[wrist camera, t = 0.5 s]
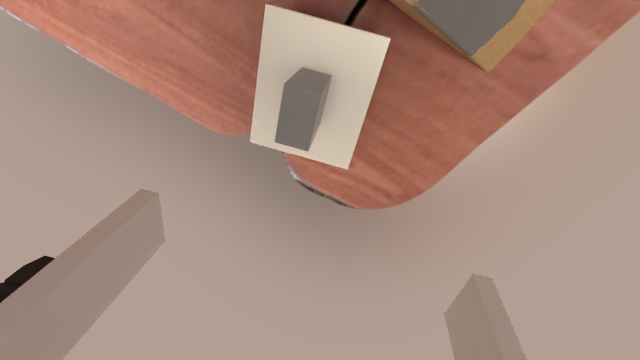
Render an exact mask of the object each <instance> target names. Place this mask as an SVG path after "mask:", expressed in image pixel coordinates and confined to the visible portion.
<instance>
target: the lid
mask: <svg viewBox="0 0 640 360" xmlns="http://www.w3.org/2000/svg"><path fill="white" fill-rule="evenodd" d="M390 39H391V38H390V37H388V36H384V35H381V34H377V33H373V32H370V31H366V30H363V29H359V28H355V27H352V26H348V25H344V24H341V23H337V22H334V21H330V20H326V19H323V18H319V17H315V16H312V15H308V14H305V13H301V12H297V11H294V10H290V9H287V8H283V7H279V6H276V5H272V4H265V13H264V22H263V30H262V39H261V48H260V57H259V66H258V75H257V84H256V92H255V101H254V110H253V119H252V128H251V137H250V142H251V143H255V144H258V145H262V146H265V147H269V148H273V149H277V150H280V151H283V152H287V153H290V154H294V155H298V156H301V157H305V158H308V159H312V160H315V161H319V162H323V163H326V164H330V165H333V166H337V167H340V168H344V169H348V167H349V164H350V161H351V158H352V155H353V152H354V149H355V146H356V143H357V140H358V137H359V134H360V131H361V128H362V124H363V121H364V118H365V115H366V112H367V109H368V106H369V103H370V100H371V97H372V94H373V91H374V88H375V85H376V82H377V79H378V76H379V73H380V70H381V67H382V64H383V61H384V58H385V55H386V51H387V48H388V45H389V42H390Z"/></svg>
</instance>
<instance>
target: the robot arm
mask: <svg viewBox="0 0 640 360" xmlns="http://www.w3.org/2000/svg"><path fill="white" fill-rule="evenodd" d="M164 242H165V238H164V230H163V223H162V215H161V208H160V201H159V194H158V193H155V192H151V191H147V190H143V189H140V190H139V191H138V192H136V193H135V194H134V195H133V196H132V197H130V198H129V199H128V200H127V201H125V202H124V203H123V204H122V205H121V206H119V207H118V208H117V209H116V210H114V211H113V212H112V213H111V214H109V215H108V216H107V217H106V218H105V219H103V220H102V221H101V222H100V223H98V224H97V225H96V226H95V227H93V228H92V229H91V230H90V231H88V232H87V233H86V234H85V235H83V236H82V237H81V238H80V239H79V240H77V241H76V242H75V243H74V244H72V245H71V246H70V247H69V248H67V249H66V250H65V251H64V252H63V253H61V254H60V255H59V256H58V257H56V258H52V257H48V256H43V257H41V258H39V259H37V260H35V261H33V262H31V263H29V264H26V265H24V266H23V267H21V268H20V269H19V270H17V271H16V272H15V273H13V274H12V275H11V276H10V277H9V278H7V279H6V280H5V282H4V283H0V360H63V358H64V357H65V356H66V354H68V353H69V351H70V350H71V349H72V348H73V347H74V346H75V344H76V343H77V342H78V341H79V340H80V339H81V338H82V336H83V335H84V334H85V333H86V331H88V329H89V328H90V327H91V326H92V325H93V324H94V323H95V321H96V320H97V319H98V318H99V317H100V316H101V314H102V313H103V312H104V311H105V310H106V309H107V308H108V306H109V305H110V304H111V303H112V302H113V301H114V299H115V298H116V297H117V296H118V294H120V292H121V291H122V290H123V289H124V288H125V287H126V286H127V284H128V283H129V282H130V281H131V280H132V279H133V277H134V276H135V275H136V274H137V273H138V272H139V270H140V269H141V268H142V267H143V266H144V265H145V263H146V262H147V261H148V260H149V259H150V258H151V257H152V255H153V254H154V253H155V252H156V251H157V250H158V249H159V247H160V246H161V245H162V244H163V243H164ZM445 319H446V323H447V327H448V332H449V336H450V340H451V345H452V350H453V354H454V359H455V360H527V359H526V357H525V354H524V352H523V350H522V347H521V345H520V343H519V340H518V338H517V336H516V333H515V331H514V329H513V326H512V324H511V321H510V319H509V317H508V315H507V312H506V310H505V308H504V305H503V303H502V300H501V298H500V296H499V294H498V291H497V289H496V286H495V284H494V282H493V279H492V278H489V277H485V276H481V275H477V274H472V276H471V277H470V279H469V280H468V282H467V283H466V285H465V286H464V287H463V288H462V290H461V291H460V293H459V294H458V295H457V297H456V298H455V300H454V301H453V302H452V304H451V305H450V307H449V308H448V309H447V311H446V312H445Z"/></svg>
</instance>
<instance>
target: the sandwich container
mask: <svg viewBox="0 0 640 360" xmlns="http://www.w3.org/2000/svg"><path fill="white" fill-rule="evenodd" d="M389 1H390V2H392V3H393V4H394V5H395V6H397V7H398V8H399V9H400V10H402V11H403V12H404V13H406V14H407V15H408V16H409V17H411V18H412V19H413V20H415V21H416V22H417V23H418V24H420V25H421V26H423V27H424V28H426V29H427V30H428V31H430V32H431V33H433V34H434V35H435V36H437V37H438V38H440V39H441V40H443V41H444V42H445V43H447V44H448V45H450V46H451V47H452V48H454V49H455V50H457V51H458V52H459V53H461V54H462V55H464V56H465V57H467V58H468V59H469V60H471V61H472V62H474V63H475V64H476V65H478V66H479V67H481V68H482V69H484V70H485V71H486V72H490V71H491V70H492V69H493V68H494V67H495V66H496V65H497V64H498V63H499V62H500V61H501V60H502V59H503V57H504V56H505V55H506V54H507V53H508V52H509V51H510V50H511V49H512V48H513V47H514V46H515V45H516V44H517V43H518V42H519V41H520V40H521V39H522V38H523V37H524V36H525V34H526V33H527V32H528V31H529V30H530V29H531V28H532V26H533V25H534V24H535V23H536V22H537V21H538V19H539V18H540V17H541V16H542V15H543V14H544V13H545V11H546V10H547V9H548V8H549V7H550V6H551V4H552V3H553V2H554V1H555V0H389Z"/></svg>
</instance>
